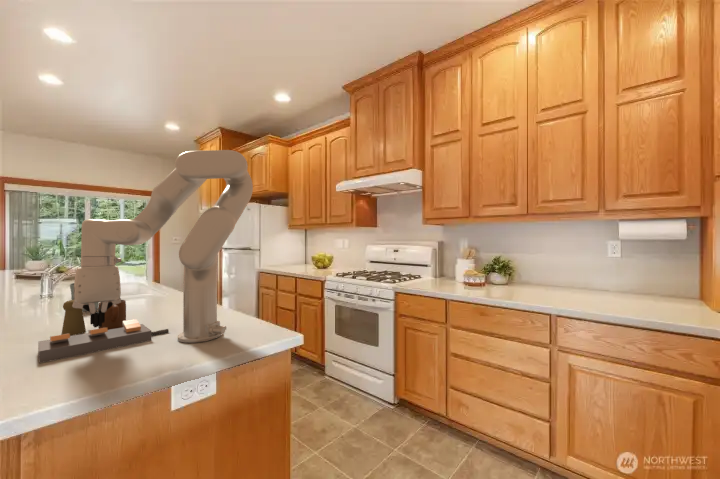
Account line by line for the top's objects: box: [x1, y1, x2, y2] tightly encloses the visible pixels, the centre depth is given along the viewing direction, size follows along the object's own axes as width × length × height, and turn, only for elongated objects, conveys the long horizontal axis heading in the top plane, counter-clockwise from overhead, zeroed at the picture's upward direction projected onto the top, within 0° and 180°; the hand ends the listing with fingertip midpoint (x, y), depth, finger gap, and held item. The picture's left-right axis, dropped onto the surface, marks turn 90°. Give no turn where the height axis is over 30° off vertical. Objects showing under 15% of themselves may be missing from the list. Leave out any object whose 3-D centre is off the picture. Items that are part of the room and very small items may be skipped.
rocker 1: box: [49, 334, 70, 343], centre depth 84 cm, size 4×6×2 cm, turn 47°
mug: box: [97, 299, 127, 330], centre depth 107 cm, size 12×8×9 cm, turn 46°
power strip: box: [37, 323, 169, 364], centre depth 92 cm, size 30×11×3 cm, turn 137°
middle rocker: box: [87, 327, 108, 336], centre depth 90 cm, size 4×6×2 cm, turn 47°
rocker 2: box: [122, 318, 141, 333], centre depth 96 cm, size 4×6×2 cm, turn 47°
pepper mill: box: [60, 299, 87, 336], centre depth 103 cm, size 6×6×11 cm
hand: (97, 326), depth 89 cm, fingers closed
